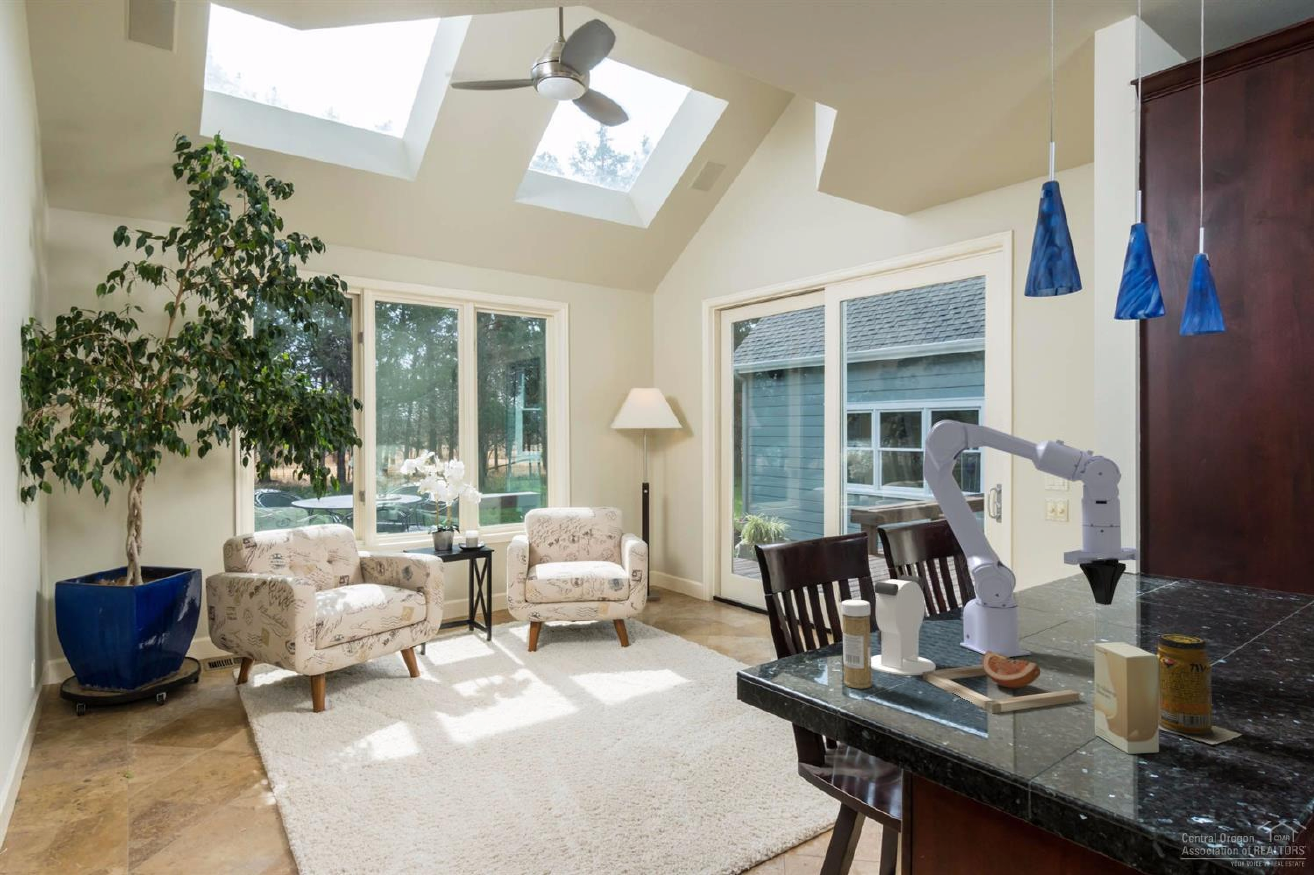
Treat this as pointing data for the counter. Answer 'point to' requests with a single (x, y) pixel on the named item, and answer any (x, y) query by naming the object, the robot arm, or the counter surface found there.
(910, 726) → the counter surface
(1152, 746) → the skincare box
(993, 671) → the fruit slice
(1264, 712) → the counter surface
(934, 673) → the frame
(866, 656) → the brown spice jar
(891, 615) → the white two-tone upright fixture
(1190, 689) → the condiment
